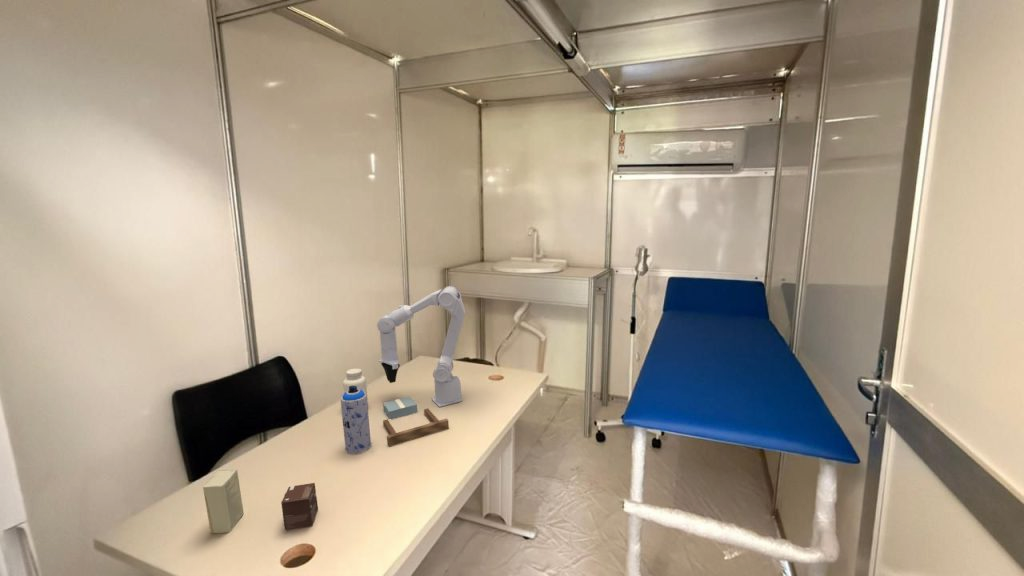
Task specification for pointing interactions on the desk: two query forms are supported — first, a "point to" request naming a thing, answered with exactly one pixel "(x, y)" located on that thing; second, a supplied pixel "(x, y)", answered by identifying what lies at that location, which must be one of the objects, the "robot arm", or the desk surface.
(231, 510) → the skincare box
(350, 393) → the aerosol can
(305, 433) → the desk surface
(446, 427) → the stand
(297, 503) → the box
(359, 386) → the pill bottle
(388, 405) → the carton
